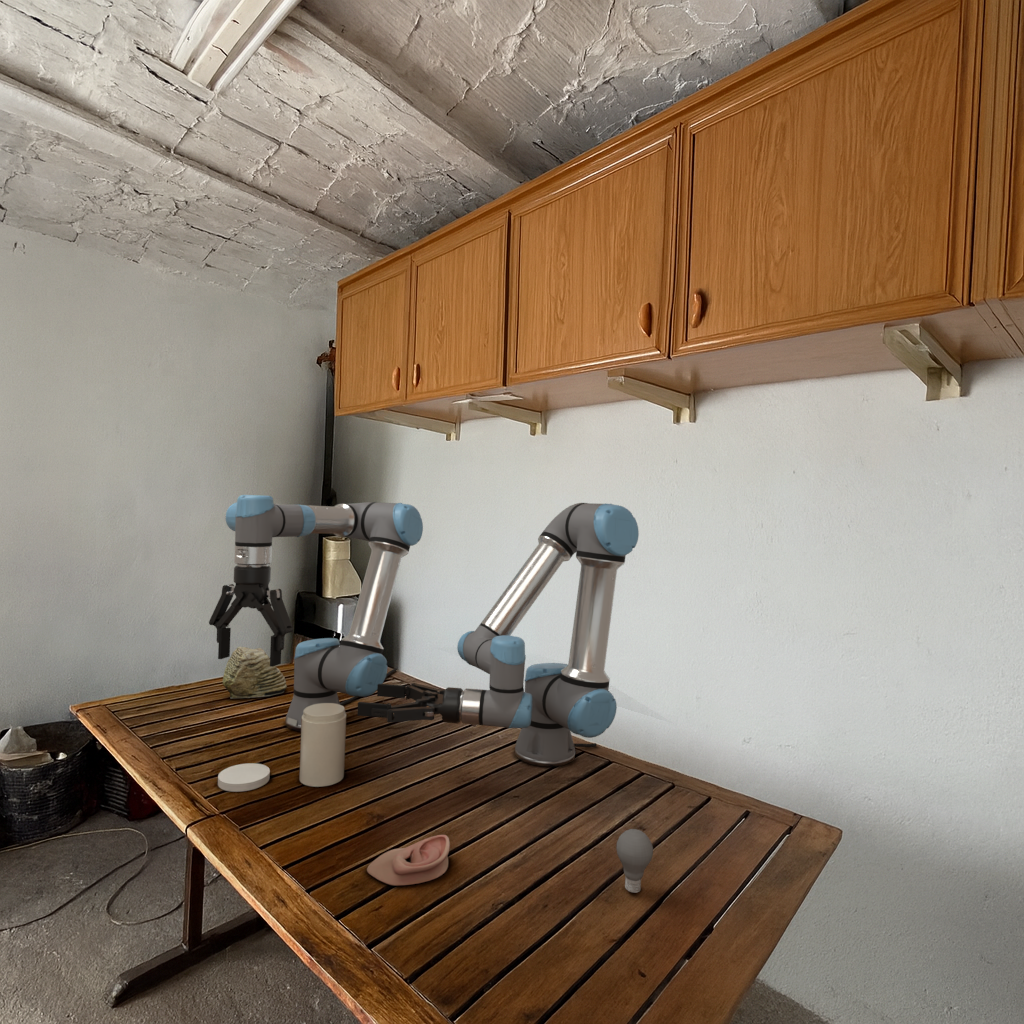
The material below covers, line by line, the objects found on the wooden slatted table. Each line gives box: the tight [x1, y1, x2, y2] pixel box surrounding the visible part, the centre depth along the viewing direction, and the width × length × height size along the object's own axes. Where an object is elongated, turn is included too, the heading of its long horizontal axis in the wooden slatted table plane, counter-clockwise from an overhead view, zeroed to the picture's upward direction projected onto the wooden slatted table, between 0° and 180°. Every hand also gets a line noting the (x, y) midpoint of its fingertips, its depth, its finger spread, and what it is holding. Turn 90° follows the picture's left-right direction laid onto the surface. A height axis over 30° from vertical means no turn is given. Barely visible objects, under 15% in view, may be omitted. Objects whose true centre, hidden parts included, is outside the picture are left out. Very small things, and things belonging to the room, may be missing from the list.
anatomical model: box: [366, 834, 451, 886], centre depth 109 cm, size 13×4×12 cm
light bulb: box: [615, 828, 654, 894], centre depth 106 cm, size 6×6×10 cm
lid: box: [217, 762, 271, 793], centre depth 140 cm, size 10×10×2 cm
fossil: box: [222, 646, 288, 699], centre depth 198 cm, size 9×18×15 cm, turn 132°
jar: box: [298, 703, 347, 788], centre depth 143 cm, size 10×10×16 cm
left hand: (249, 661), depth 139 cm, fingers open, 13 cm apart
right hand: (368, 698), depth 142 cm, fingers open, 13 cm apart
